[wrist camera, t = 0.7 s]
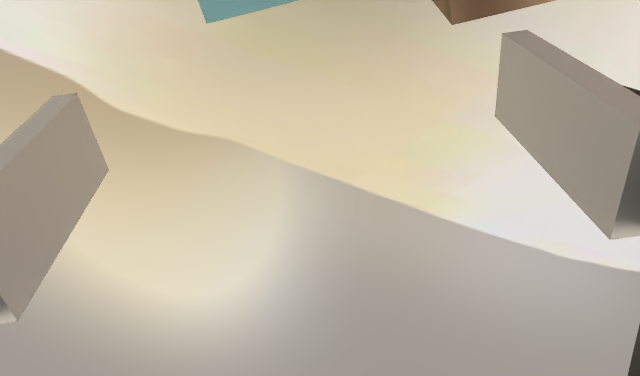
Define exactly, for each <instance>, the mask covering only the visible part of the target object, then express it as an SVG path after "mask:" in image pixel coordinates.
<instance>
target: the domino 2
mask: <svg viewBox="0 0 640 376" xmlns="http://www.w3.org/2000/svg"><path fill="white" fill-rule="evenodd" d="M432 1H433V2H434V3H435V4H436V6H437V7H438V8H439V9H440V11H441V12H442V13H443V14H444V16H445V17H446V18H447V19H448V20H449V22H450V23H451V24H452V25H454V24H458V23H462V22H467V21H471V20H475V19H479V18H483V17H488V16H492V15H496V14H500V13H504V12H508V11H513V10H517V9H521V8H525V7H529V6H534V5H538V4H542V3H546V2H550V1H554V0H432Z"/></svg>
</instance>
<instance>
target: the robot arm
mask: <svg viewBox="0 0 640 376" xmlns="http://www.w3.org/2000/svg"><path fill="white" fill-rule="evenodd" d="M495 117H496V118H497V119H498V120H499V121H500V122H501V123H502V124H503V125H504V126H505V127H506V129H507V130H508V131H509V132H510V133H511V134H512V135H513V136H514V137H515V138H516V139H517V140H518V141H519V143H520V144H521V145H522V146H523V147H524V148H525V149H526V150H527V151H528V152H529V153H530V154H531V155H532V157H533V158H534V159H535V160H536V161H537V162H538V163H539V164H540V165H541V166H542V167H543V168H544V169H545V171H546V172H547V173H548V174H549V175H550V176H551V177H552V178H553V179H554V180H555V181H556V182H557V183H558V185H559V186H560V187H561V188H562V189H563V190H564V191H565V192H566V193H567V194H568V195H569V196H570V197H571V199H572V200H573V201H574V202H575V203H576V204H577V205H578V206H579V207H580V208H581V209H582V210H583V211H584V213H585V214H586V215H587V216H588V217H589V218H590V219H591V220H592V221H593V222H594V223H595V224H596V225H597V226H598V228H599V229H600V230H601V231H602V232H603V233H604V234H605V235H606V236H607V237H608V238H609V239H610V240H612V239H619V238H626V237H634V236H640V91H639V90H636V89H632V88H629V87H626V86H622V85H620V84H618V83H617V82H615V81H613V80H612V79H610V78H608V77H606V76H605V75H603V74H601V73H600V72H598V71H596V70H594V69H593V68H591V67H589V66H588V65H586V64H584V63H583V62H581V61H579V60H577V59H576V58H574V57H572V56H571V55H569V54H567V53H566V52H564V51H562V50H560V49H559V48H557V47H555V46H554V45H552V44H550V43H548V42H547V41H545V40H543V39H542V38H540V37H538V36H537V35H535V34H533V33H531V32H530V31H528V30H523V31H516V32H509V33H502V41H501V53H500V64H499V76H498V88H497V99H496V111H495ZM108 171H109V169H108V167H107V164H106V162H105V159H104V157H103V154H102V152H101V150H100V147H99V145H98V143H97V140H96V138H95V135H94V133H93V131H92V128H91V126H90V123H89V121H88V118H87V116H86V114H85V111H84V109H83V107H82V104H81V102H80V99H79V97H78V95H77V93H73V94H66V95H58V96H52V97H51V98H50V99H49V100H48V101H47V102H46V103H44V104H43V105H42V106H41V107H40V108H39V109H38V110H37V111H36V112H35V113H34V114H33V115H32V116H31V117H30V118H28V119H27V120H26V121H25V122H24V123H23V124H22V125H21V126H20V127H19V128H18V129H16V130H15V131H14V132H13V133H12V134H11V135H10V136H9V137H8V138H7V139H6V140H5V141H3V142H2V144H0V324H2V323H9V322H16V321H18V320H19V319H20V317H21V315H22V313H23V312H24V310H25V309H26V307H27V305H28V304H29V302H30V300H31V299H32V297H33V295H34V294H35V292H36V290H37V289H38V287H39V285H40V284H41V282H42V280H43V278H44V277H45V275H46V274H47V272H48V270H49V269H50V267H51V265H52V264H53V262H54V260H55V258H56V257H57V255H58V254H59V252H60V250H61V249H62V247H63V245H64V244H65V242H66V240H67V239H68V237H69V235H70V233H71V232H72V230H73V229H74V227H75V225H76V224H77V222H78V220H79V219H80V217H81V215H82V214H83V212H84V210H85V209H86V207H87V205H88V204H89V202H90V201H91V199H92V197H93V196H94V194H95V192H96V191H97V189H98V187H99V186H100V184H101V182H102V181H103V179H104V177H105V176H106V174H107V172H108ZM628 376H640V325H639V330H638V334H637V338H636V342H635V346H634V351H633V355H632V360H631V364H630V368H629V372H628Z"/></svg>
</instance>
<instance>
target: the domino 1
mask: <svg viewBox="0 0 640 376" xmlns="http://www.w3.org/2000/svg"><path fill="white" fill-rule="evenodd" d="M198 1H199V4H200V7H201V9H202V12H203V15H204V17H205V20H206V23H211V22H215V21H219V20H223V19H227V18H231V17H234V16H238V15H242V14H246V13H250V12H254V11H258V10H262V9H266V8H270V7H274V6H278V5H282V4H286V3H289V2H293V1H297V0H198Z"/></svg>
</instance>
